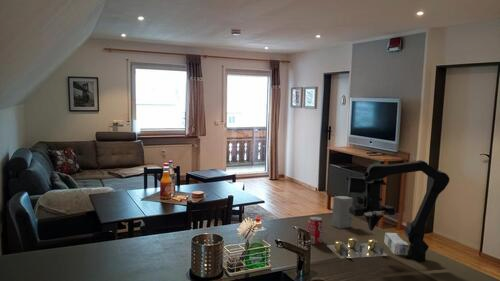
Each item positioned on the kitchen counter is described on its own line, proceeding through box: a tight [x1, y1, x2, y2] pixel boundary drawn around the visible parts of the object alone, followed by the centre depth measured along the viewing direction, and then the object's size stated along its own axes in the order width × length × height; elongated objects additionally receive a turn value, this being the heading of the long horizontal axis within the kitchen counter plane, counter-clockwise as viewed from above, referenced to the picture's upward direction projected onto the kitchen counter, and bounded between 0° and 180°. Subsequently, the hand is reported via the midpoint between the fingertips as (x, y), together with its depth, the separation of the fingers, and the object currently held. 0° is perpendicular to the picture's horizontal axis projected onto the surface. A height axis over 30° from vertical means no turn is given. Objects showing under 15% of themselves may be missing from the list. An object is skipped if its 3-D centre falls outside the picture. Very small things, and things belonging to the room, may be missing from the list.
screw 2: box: [367, 238, 384, 254], centre depth 160 cm, size 9×4×4 cm, turn 12°
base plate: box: [326, 242, 389, 259], centre depth 160 cm, size 14×22×1 cm, turn 102°
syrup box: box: [383, 232, 409, 256], centre depth 164 cm, size 6×6×14 cm
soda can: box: [306, 215, 324, 245], centre depth 169 cm, size 7×7×12 cm
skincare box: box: [331, 195, 354, 230], centre depth 194 cm, size 8×7×16 cm
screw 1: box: [334, 240, 349, 256], centre depth 156 cm, size 9×4×4 cm, turn 12°
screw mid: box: [347, 236, 362, 252], centre depth 161 cm, size 9×4×4 cm, turn 12°
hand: (371, 230), depth 155 cm, fingers closed
